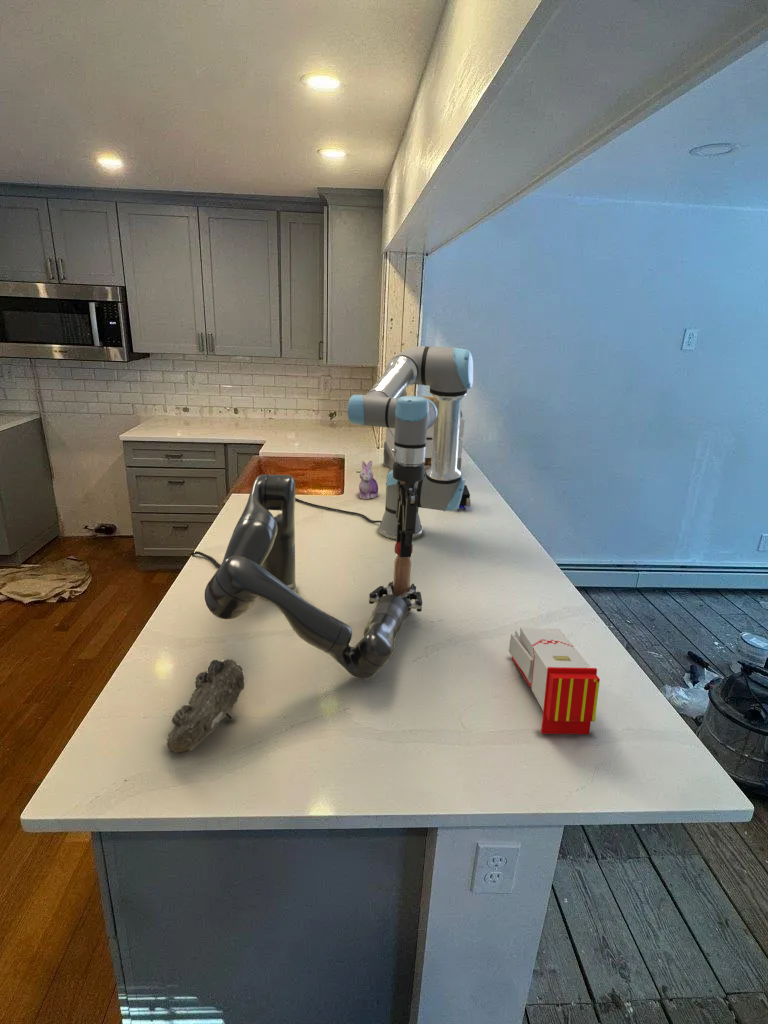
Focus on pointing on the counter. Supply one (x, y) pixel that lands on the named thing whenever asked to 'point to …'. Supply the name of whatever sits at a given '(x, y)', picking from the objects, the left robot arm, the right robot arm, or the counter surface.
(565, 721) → the toy
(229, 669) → the fossil
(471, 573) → the counter surface
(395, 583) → the bottle
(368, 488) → the figurine
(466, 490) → the figurine character
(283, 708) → the counter surface
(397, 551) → the cap
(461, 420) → the grey tiered storage bin
